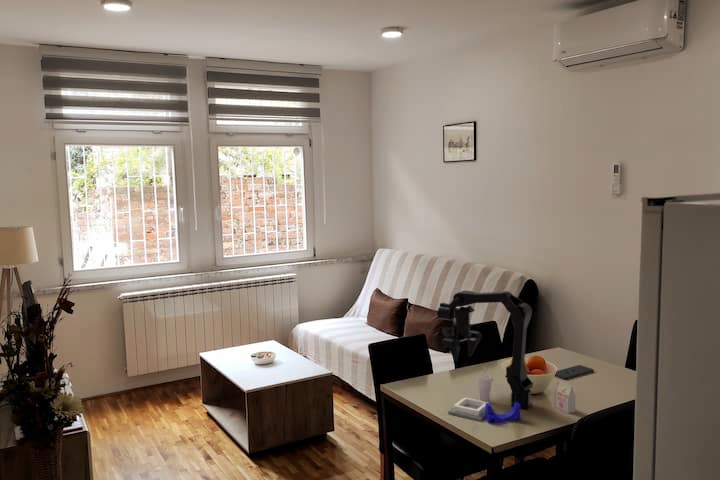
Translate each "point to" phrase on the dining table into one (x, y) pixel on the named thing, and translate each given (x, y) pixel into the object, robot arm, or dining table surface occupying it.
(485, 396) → the smoothie
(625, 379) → the dining table surface
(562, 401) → the milk carton
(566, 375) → the smart home device
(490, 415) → the cable clip
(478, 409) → the socket plate
